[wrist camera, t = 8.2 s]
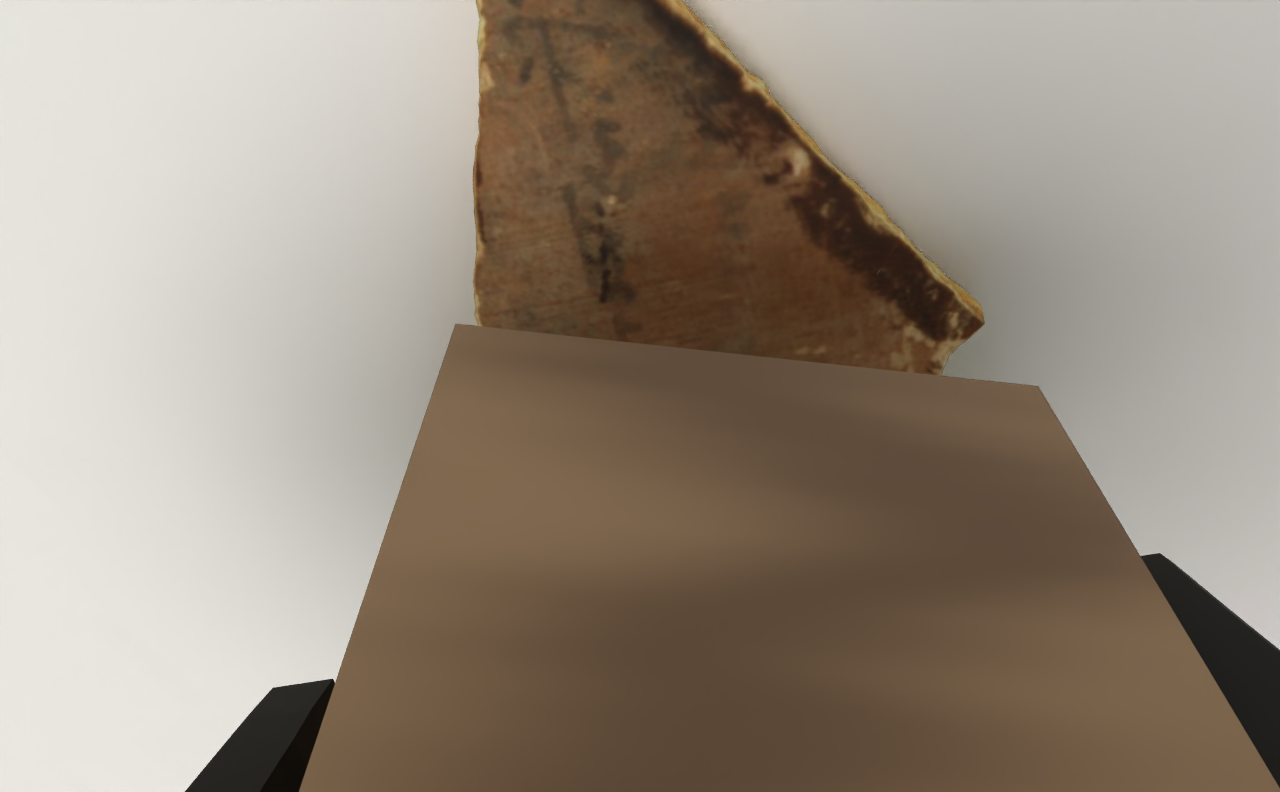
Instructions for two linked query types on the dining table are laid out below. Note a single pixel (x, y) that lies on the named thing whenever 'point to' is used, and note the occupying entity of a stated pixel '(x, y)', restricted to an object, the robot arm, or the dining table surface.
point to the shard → (680, 201)
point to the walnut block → (758, 592)
